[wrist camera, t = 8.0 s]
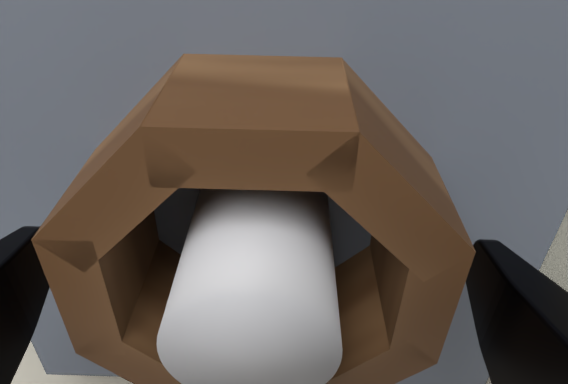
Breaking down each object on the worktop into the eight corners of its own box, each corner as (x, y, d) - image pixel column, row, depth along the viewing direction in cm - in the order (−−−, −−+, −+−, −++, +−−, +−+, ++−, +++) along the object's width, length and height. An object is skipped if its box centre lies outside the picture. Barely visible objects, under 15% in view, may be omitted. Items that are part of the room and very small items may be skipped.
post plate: (695, -164, 8) (1173, -200, 3) (473, 360, 16) (537, 535, 11) (-162, -185, 8) (-698, -246, 3) (59, 347, 16) (-24, 517, 12)
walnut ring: (454, 60, 9) (516, 135, 6) (394, 314, 13) (417, 420, 10) (71, 50, 9) (-17, 122, 6) (135, 307, 13) (98, 410, 10)
